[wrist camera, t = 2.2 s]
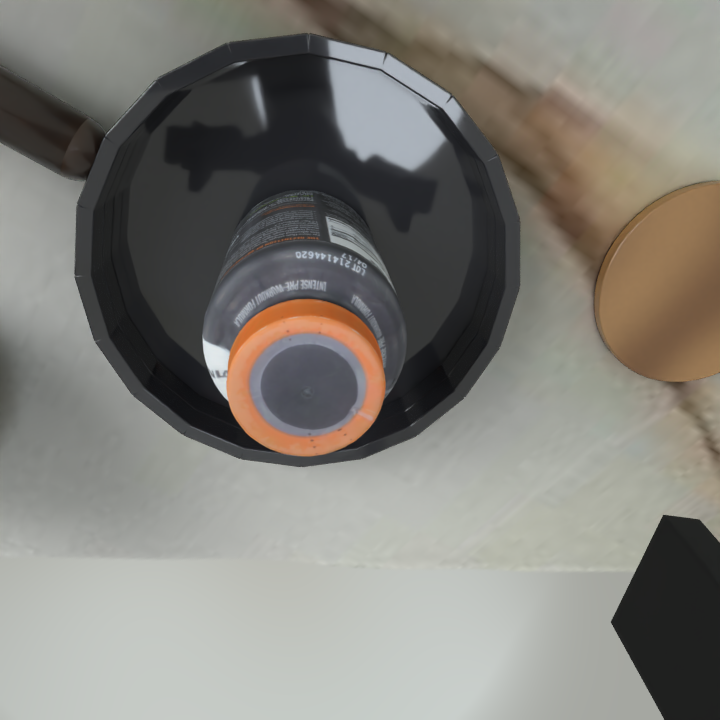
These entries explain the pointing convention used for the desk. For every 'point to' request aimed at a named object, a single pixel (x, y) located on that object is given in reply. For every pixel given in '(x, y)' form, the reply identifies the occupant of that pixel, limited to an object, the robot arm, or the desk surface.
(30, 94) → the pan handle
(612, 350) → the coaster
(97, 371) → the desk surface
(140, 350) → the pan
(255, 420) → the pill bottle
